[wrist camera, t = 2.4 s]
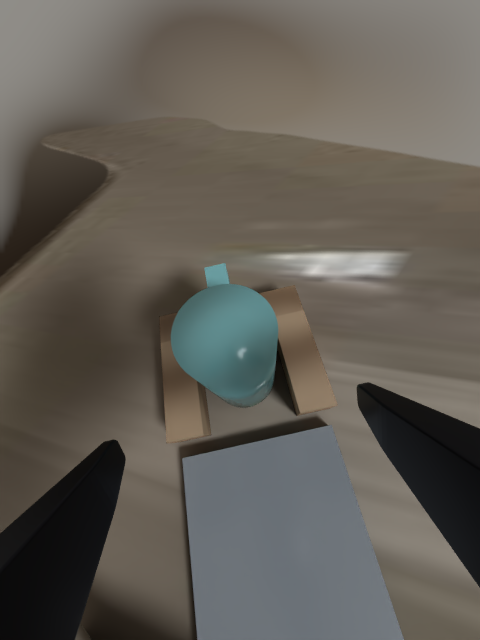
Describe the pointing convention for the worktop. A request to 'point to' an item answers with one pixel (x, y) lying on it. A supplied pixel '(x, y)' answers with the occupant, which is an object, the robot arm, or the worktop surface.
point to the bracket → (296, 356)
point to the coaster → (282, 545)
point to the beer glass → (82, 634)
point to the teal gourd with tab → (227, 340)
